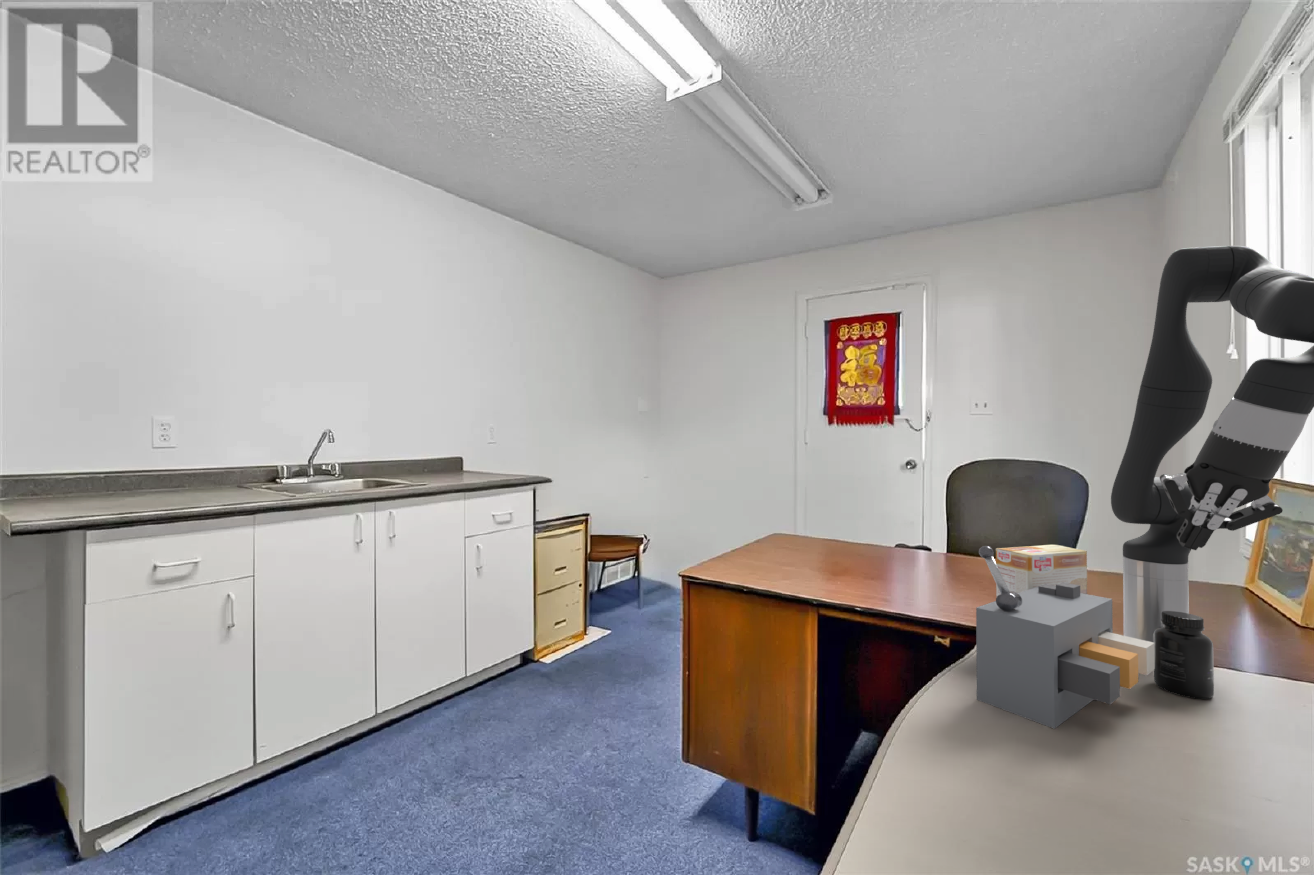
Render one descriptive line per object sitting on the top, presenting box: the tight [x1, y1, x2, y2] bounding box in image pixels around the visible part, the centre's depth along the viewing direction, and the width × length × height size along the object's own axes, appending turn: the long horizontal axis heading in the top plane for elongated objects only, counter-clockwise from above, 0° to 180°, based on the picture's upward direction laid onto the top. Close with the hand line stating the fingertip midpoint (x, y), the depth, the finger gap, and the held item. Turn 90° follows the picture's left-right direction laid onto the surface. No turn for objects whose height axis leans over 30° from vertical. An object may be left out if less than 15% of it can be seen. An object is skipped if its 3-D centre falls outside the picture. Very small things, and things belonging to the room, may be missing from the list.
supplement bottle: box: [1153, 611, 1215, 700], centre depth 84 cm, size 7×7×12 cm
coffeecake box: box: [995, 544, 1088, 599], centre depth 100 cm, size 15×7×20 cm, turn 106°
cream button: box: [1098, 631, 1155, 676], centre depth 82 cm, size 4×8×4 cm, turn 34°
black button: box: [1058, 652, 1121, 705], centre depth 73 cm, size 4×8×4 cm, turn 34°
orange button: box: [1079, 641, 1139, 690], centre depth 78 cm, size 4×8×4 cm, turn 34°
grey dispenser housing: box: [975, 582, 1114, 729], centre depth 83 cm, size 24×10×16 cm, turn 124°
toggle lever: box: [978, 545, 1022, 611], centre depth 81 cm, size 3×2×10 cm
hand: (1187, 546), depth 77 cm, fingers closed
